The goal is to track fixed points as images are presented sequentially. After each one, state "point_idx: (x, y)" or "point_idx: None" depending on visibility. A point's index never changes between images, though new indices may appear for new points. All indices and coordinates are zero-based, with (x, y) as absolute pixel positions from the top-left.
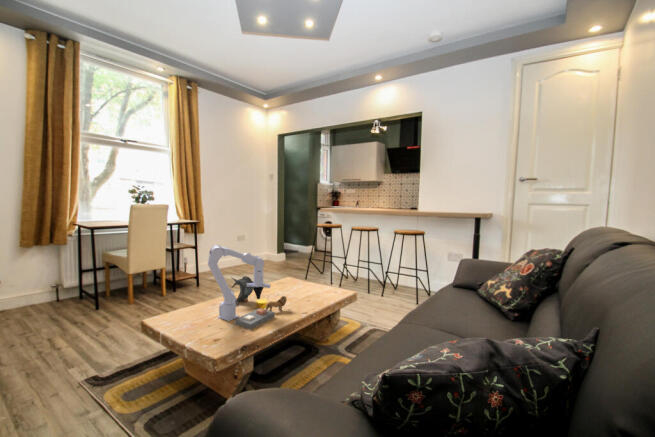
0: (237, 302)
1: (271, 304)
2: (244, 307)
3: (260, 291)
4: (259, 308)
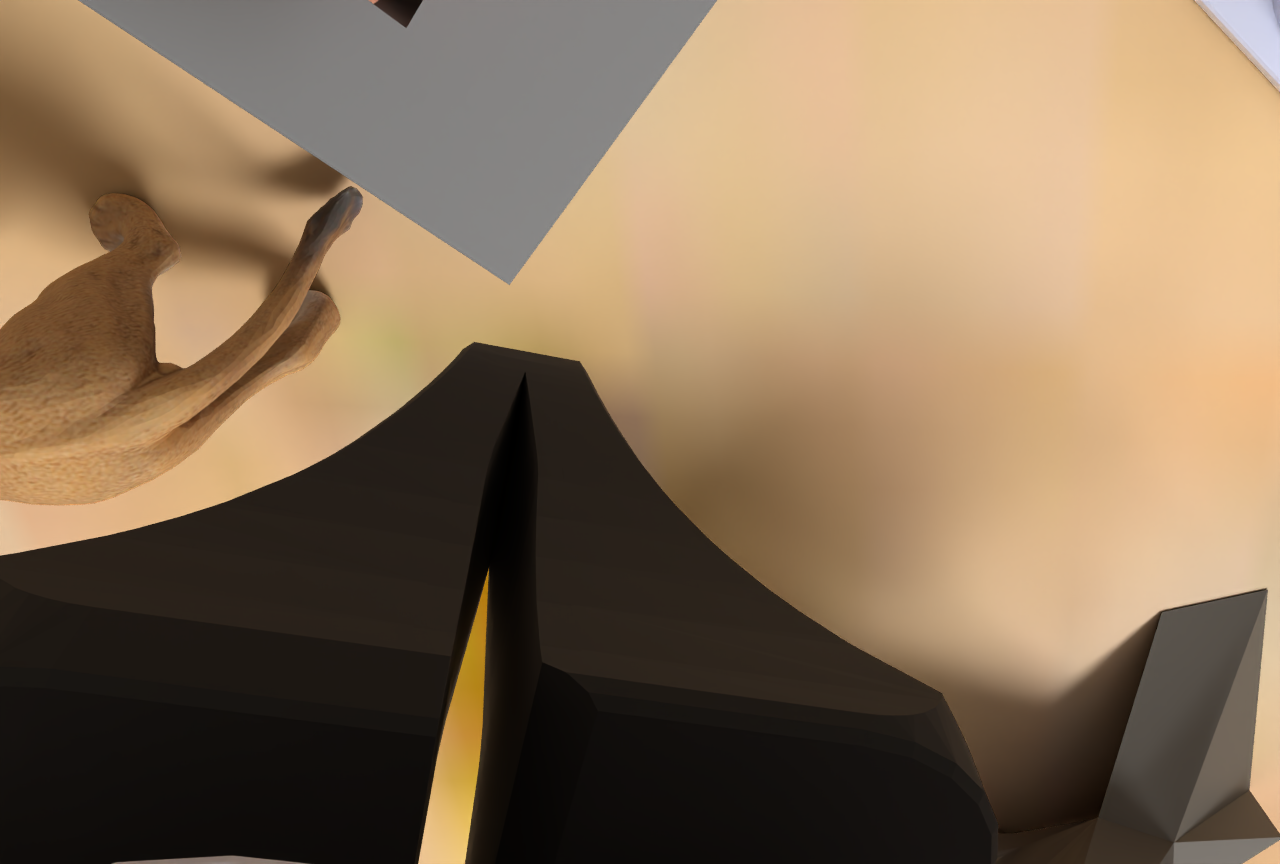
0: (1137, 764)
1: (19, 330)
2: (956, 590)
3: (161, 526)
4: (509, 258)
